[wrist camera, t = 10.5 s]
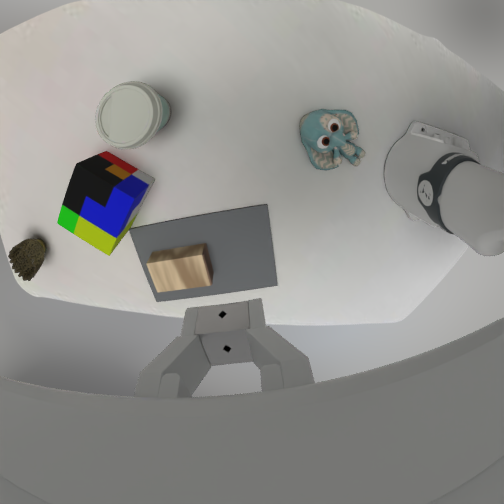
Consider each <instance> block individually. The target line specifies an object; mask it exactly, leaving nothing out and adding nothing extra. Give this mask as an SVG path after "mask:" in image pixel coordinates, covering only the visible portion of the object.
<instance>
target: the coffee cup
mask: <svg viewBox="0 0 504 504" xmlns="http://www.w3.org/2000/svg"><path fill="white" fill-rule="evenodd" d="M170 114H171V109H170V105H169V103H168V102H167V101H166V99H164V98H163V97H162V96H160V95H158V94H157V93H156V91H155V90H154V89H153V88H151V87H150V86H149V85H147V84H145V83H142V82H136V81H131V82H126V83H122V84H119V85H117V86H115V87H114V88H112V89H111V90H110V91H109V92H108V93H107V94H106V95H105V96H104V97H103V98H102V99H101V101H100V103H99V105H98V107H97V110H96V116H95V123H96V128H97V131H98V133H99V135H100V136H101V138H102V139H103V140H104V141H105V142H107V143H108V144H109V145H111V146H113V147H115V148H118V149H134V148H138V147H140V146H142V145H144V144H145V143H147V142H148V141H149V140H150V139H151V138H152V137H153V136H154V135H155V134H156V132H157V131H159V130H160V129H161V128H162V127H164V126H165V125H166V124H167V122H168V120H169V118H170Z"/></svg>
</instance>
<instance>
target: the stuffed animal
mask: <svg viewBox="0 0 504 504" xmlns="http://www.w3.org/2000/svg"><path fill="white" fill-rule="evenodd" d="M300 134H301V139H302V143H303V145H304V146H305V148H306V150H307V152H308V155H309V157H310V160H311V163H312V164H313V165H314V167H315V168H316V169H320V170H330V169H334V168H337V167H338V165H339V164H341V163H342V158H341V155H343V156H344V157H345V158H347V159H349V161H350V162H351V163H352V164H353V165H354V166H358V165H359V164H360V162H361V161H360V159H359V158H363V157H364V156H365V151H364V150H363V149H361V148H360V147H357V146H355V144H353V143H351V142H349V141H346V140H354V139H356V138H357V135H358V134H359V130H358V125H357V120H356V119H355V117H354V116H353V114H352V113H351V112H349V111H346V110H326V109H321V110H318V111H313V112H311V113H309V114H306V115H305V116H304V117H303V118H302V119H301V121H300ZM333 149H334V151H333ZM340 154H341V155H340ZM355 154H356V155H357V156H358V157H359V158H358V157H356V156H354V155H355Z"/></svg>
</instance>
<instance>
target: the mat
mask: <svg viewBox="0 0 504 504" xmlns="http://www.w3.org/2000/svg"><path fill="white" fill-rule="evenodd" d="M129 231H130V234H131V237H132V240H133V242H134V245H135V248H136V251H137V254H138V256H139V259H140V262H141V264H142V267H143V270H144V272H145V275H146V277H147V280H148V282H149V285H150V287H151V290H152V292H153V294H154V297H155V299H156V301H157V302H160V301H169V300H178V299H186V298H194V297H201V296H209V295H217V294H224V293H231V292H238V291H245V290H252V289H258V288H265V287H272V286H277V277H276V269H275V261H274V253H273V245H272V237H271V229H270V222H269V214H268V207H267V204H264V205H258V206H251V207H245V208H238V209H232V210H226V211H220V212H214V213H209V214H203V215H197V216H192V217H186V218H181V219H176V220H170V221H165V222H160V223H155V224H150V225H145V226H140V227H136V228H131V229H129ZM203 243H206V244H207V248H208V252H209V256H210V260H211V264H212V268H213V272H214V274H213V283H212V285H211V286H204V287H196V288H189V289H181V290H174V291H166V292H157V290H156V287H155V285H154V282H153V280H152V277H151V275H150V272H149V269H148V267H147V264H146V263H147V261H148V259H149V257H150V256H151V254H152V252H155V251H161V250H167V249H173V248H179V247H185V246H191V245H197V244H203Z"/></svg>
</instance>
